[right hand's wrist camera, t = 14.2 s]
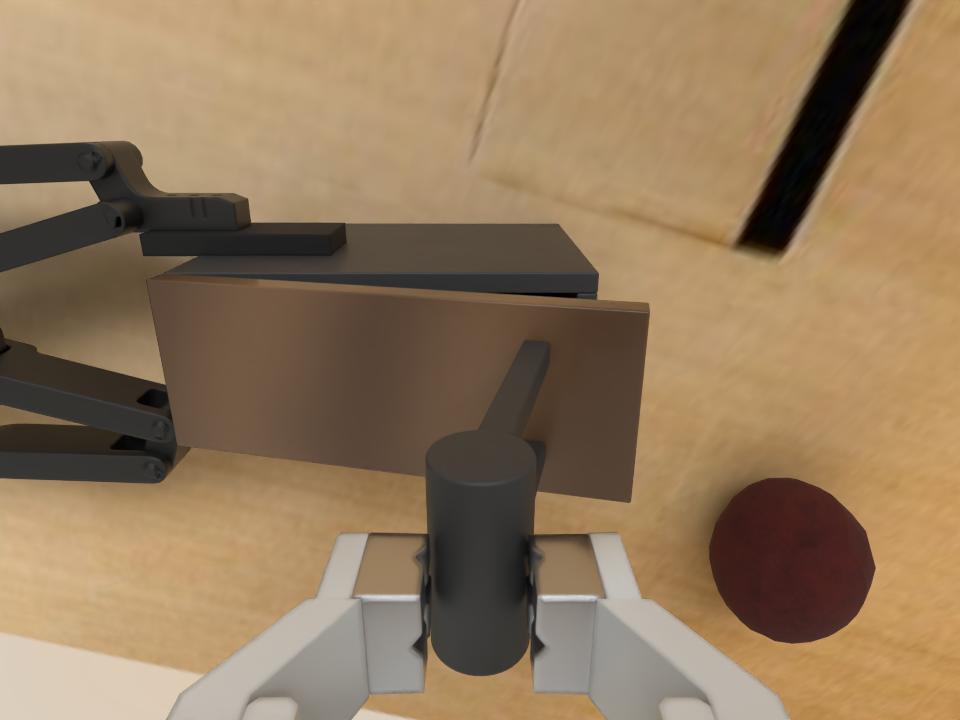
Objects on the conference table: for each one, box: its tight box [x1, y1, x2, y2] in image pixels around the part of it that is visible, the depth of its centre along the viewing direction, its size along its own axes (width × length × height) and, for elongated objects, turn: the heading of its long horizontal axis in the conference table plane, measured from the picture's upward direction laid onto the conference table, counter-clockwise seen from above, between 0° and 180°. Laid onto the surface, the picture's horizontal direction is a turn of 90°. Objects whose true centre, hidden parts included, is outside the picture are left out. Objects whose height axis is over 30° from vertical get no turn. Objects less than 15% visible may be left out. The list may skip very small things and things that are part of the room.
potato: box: [709, 478, 875, 644], centre depth 31 cm, size 7×8×7 cm
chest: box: [164, 224, 599, 300], centre depth 25 cm, size 13×6×10 cm, turn 90°
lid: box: [146, 274, 650, 676], centre depth 15 cm, size 14×6×8 cm, turn 89°
